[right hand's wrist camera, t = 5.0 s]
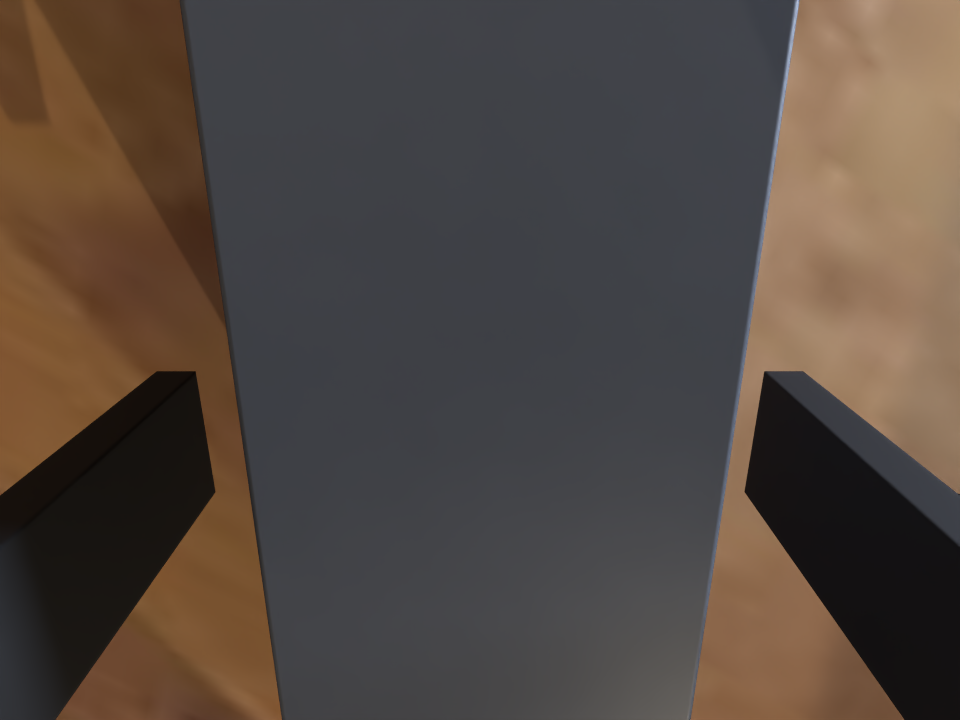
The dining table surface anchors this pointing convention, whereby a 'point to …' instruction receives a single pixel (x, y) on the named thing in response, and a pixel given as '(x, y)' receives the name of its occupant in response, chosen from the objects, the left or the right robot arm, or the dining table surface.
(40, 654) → the right robot arm
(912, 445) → the dining table surface
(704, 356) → the bar
